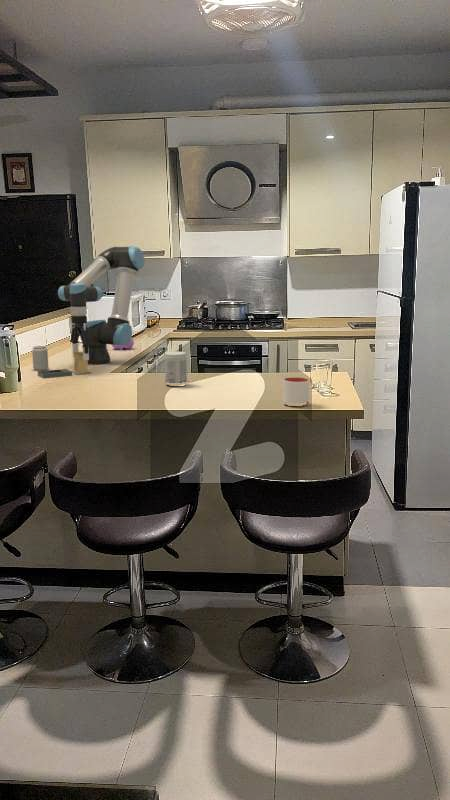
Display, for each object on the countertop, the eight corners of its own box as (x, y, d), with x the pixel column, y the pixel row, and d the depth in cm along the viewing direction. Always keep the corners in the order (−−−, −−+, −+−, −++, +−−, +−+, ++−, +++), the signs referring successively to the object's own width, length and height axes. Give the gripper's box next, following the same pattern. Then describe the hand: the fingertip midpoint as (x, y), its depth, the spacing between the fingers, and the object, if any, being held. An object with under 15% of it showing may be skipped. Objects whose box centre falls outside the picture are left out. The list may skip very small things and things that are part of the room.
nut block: (84, 371, 310) (83, 351, 308) (88, 372, 306) (87, 352, 304) (74, 372, 308) (73, 352, 305) (78, 373, 303) (77, 353, 301)
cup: (280, 402, 245) (281, 377, 242) (305, 401, 245) (306, 377, 243) (285, 408, 235) (285, 382, 233) (310, 407, 236) (311, 382, 234)
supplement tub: (183, 382, 283) (183, 351, 280) (189, 386, 274) (189, 353, 271) (162, 384, 280) (162, 351, 277) (168, 388, 271) (167, 354, 268)
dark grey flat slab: (65, 372, 307) (65, 368, 306) (72, 375, 300) (71, 371, 299) (37, 375, 299) (37, 371, 299) (43, 378, 292) (43, 373, 292)
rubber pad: (86, 370, 312) (86, 370, 312) (92, 373, 306) (92, 372, 306) (70, 372, 308) (70, 371, 308) (76, 374, 301) (76, 374, 301)
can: (44, 371, 311) (42, 347, 309) (30, 370, 313) (29, 347, 310) (51, 368, 318) (49, 345, 316) (37, 368, 320) (36, 345, 317)
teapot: (141, 350, 388) (140, 330, 385) (120, 352, 379) (120, 332, 377) (125, 346, 403) (125, 328, 401) (106, 348, 395) (105, 329, 392)
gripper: (62, 313, 309) (64, 355, 313) (80, 317, 289) (83, 362, 293) (77, 313, 313) (79, 354, 317) (96, 316, 293) (97, 361, 297)
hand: (80, 358), depth 305 cm, fingers open, 13 cm apart
